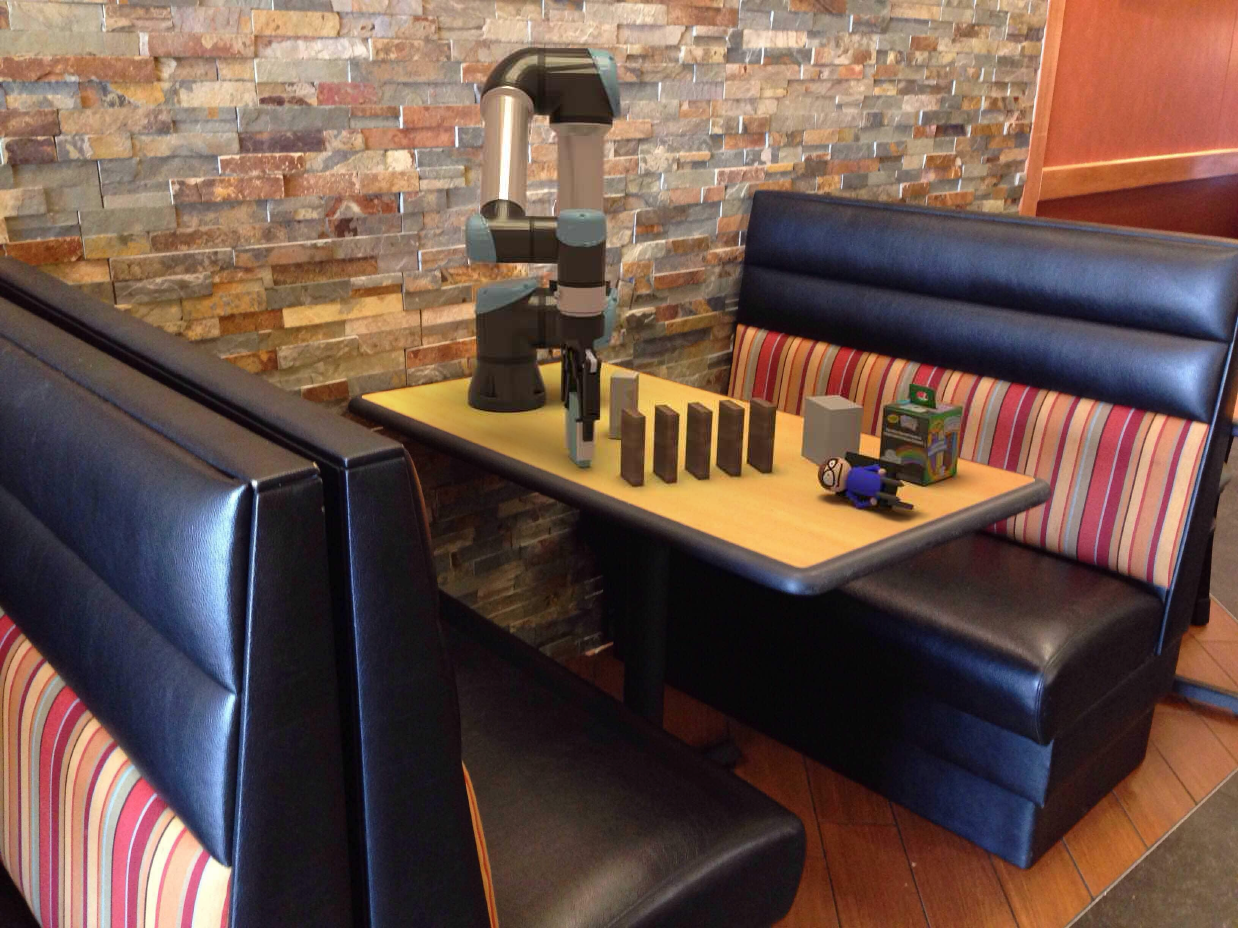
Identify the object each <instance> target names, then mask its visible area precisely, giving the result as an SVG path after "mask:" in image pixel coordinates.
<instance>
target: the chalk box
mask: <svg viewBox="0 0 1238 928" xmlns="http://www.w3.org/2000/svg"><path fill="white" fill-rule="evenodd" d="M908 392H909V398H901V399H898V400H895V401H894V402H891V403H886V404H884V405H883V406H882V420H881V430H880V432H881V433H880V441H879V454H878V459H881V460H885V461H889V462H894V463H897V464H901V465H904V468H903V472H902V474H905V475H909V476H912V477H916V478H920V480H919V483H915V482H911V481H907V480H904V479H902V480H903V481H906V482H908V483H913V484H915V485H918V486H920V487H925V486H928V485H930V484H934V483H936V482H938V481H941V480H945V479H947V478H949V477H952V476H954V475H957V470H958V460H959V451H960V440H961V438H960V437H961V429H962V428H961V427H962V420H963V411H964V409H963V408H964V407H963V406H962V405H958V404H954V403H950V402H947V401H945V402H944V401H942V400H940V401H939V400H936V391H935V388H933V387H929V386H927V385H926V386H925V385H921V384H916V383H912V382H911V383H909V384H908ZM919 392H922V393H924V394H925V395H926V396H927V398H926V397H922V396H918V393H919Z"/></svg>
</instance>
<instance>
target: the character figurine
mask: <svg viewBox="0 0 1238 928" xmlns="http://www.w3.org/2000/svg"><path fill="white" fill-rule="evenodd" d="M903 468H904V465H901V464H897V463H894V462H889V461H885V460H881V459H879V458H877V457H873V456H867V455H866V454H860V453H859V454H856V453H852V452H848V451H846V455H845V459H842V458H838V457H833V458H829V459H827V460H825V461H824V462H823V463H822V464H821V466H819V469H818V471H817V479H818V482H819V484H820V486H821V487H822V488H823V489H824V490H826V491H828V492H830V493H834V495H836V496H839V497H840V496H841V497H843V498H846V499H847V498H848V499H851V501H852V502H853V503H854V505H855V506H856V508H857V509H861V508H865V507H867V506H871V505H872V506H876V507H879V508H882V509H887V510H893V508H894V507H897V508H901V509H904V510H909V511H913V510H914V506H915V505H914V504H913V503H912V504H911V503H908V502H905V501H902V500H901V498H900V497H899V496H897V493H898V490H899V488H903V487H906V485H905V484H904V483H903V482H902V481H901V480H903V479H904V480H903V481H906V480H907V481H906V482H909V481H911V482H910V483H912V482H915V483H919V480H920V478H916V477H912V476H909V475H905V474H902V472H903ZM915 483H914V484H915Z"/></svg>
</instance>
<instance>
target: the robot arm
mask: <svg viewBox="0 0 1238 928" xmlns="http://www.w3.org/2000/svg"><path fill="white" fill-rule="evenodd" d="M479 99H480V100H479V101H480V102H479V112H480V116H481V118H482V119H483V121H484V129H483V130H484V131H483V132H484V134H483V150H482V166H481V167H482V168H481V182H480V183H481V185H480V202H479V213H477V214H470V215H468V216H467V217H466V219H465V224H464V226H465V228H464V229H465V231H464V232H465V233H464V241H465V242H464V243H465V244H464V245H465V254H466V258H467V259H468V260H469V261H471V262H474V263H483V264H484V263H485V264H492V265H495V264H538V265H539V264H541V265H542V264H543V265H546V264H548V265H549V264H550V265H556V270H554V272H553V273H552V274H550V275H549V277H548V287H539V284H538V282H537V280H536V279H534V278H530V277H529V278H522V277H521V278H510V279H502V280H498V281H493V282H489V283H487V284H484V285H481V286H480V287H479V288H478V289H477V291H476V292H475V293H476V294H475V308H474V310H473V311H474V315H475V351H476V352H475V353H476V355H475V356H476V357H475V358H476V360H475V367H474V370H473V373H472V376H471V380H470V383H469V386H468V389H467V403H468V404H469V405H470V406H472V407H474V408H476V409H480V410H484V411H491V412H522V411H530V410H534V409H538V408H541V407H543V406H545V405H546V403H547V388H546V385H545V381H544V379H543V375H542V373H541V370H540V367H539V364H538V350H560V355H561V360H560V361H561V368H560V371H561V372H560V402H561V403H563V407H564V409H565V411H564V415H565V417H564V421H565V422H564V425H565V426H564V427H565V428H564V430H565V431H564V448H565V449H566V450H569V392H577V393H578V406H579V418H578V419H575V422H576V423H577V460H578V461H582V460H590V461H592V460H595V438H596V437H595V436H596V435H595V431H596V430H595V428H596V427H595V426H596V422H597V421H600V420H601V371H602V359H601V358H597V351H596V350H603V349H606V348H608V347H609V345H610V344H611V343H612V340H613V339H612V338H613V335H614V329H615V323H616V316H617V310H618V298H619V290H618V288H616V287H613V286H612V287H611V277H610V276H609V275H608V274H607V273H606V261H607V238H608V231H607V230H608V228H607V216H606V215H605V213H604V193H605V190H604V189H605V188H604V187H605V185H604V183H605V181H604V179H605V137H606V135H607V134H608V133H609V132H610V131H611V130H612V129H613V127H614V126H613V125H614V123H613V121H614V119H617V118H619V117H621V113H622V107H621V105H622V104H621V93H620V81H619V74H618V68H617V61H616V58H615V56H614V54H613V53H612V52H611V51H609V50H606V49H600V48H590V47H539V46H530V47H523V48H521V49H519V50H516V51H514V52H512V53H510V54H509V55H507V56H506V57H504V58H503V59H502V60H501V61H499V63H497V65H496V66H495V67H494V68H493V69H492V70H491V72H490V73H489V75H488V76H487V78H486V80H485V82H484V84H483V87H482V88H481V92H480V98H479ZM535 116H540V117H541V116H543V117H544V116H545V117H548V121H549V122H548V123H549V124H548V126H549V128H550V129H551V130H552V131H553V133H554V134H555V135H556V137H557V138H556V140H557V149H556V150H557V159H556V160H557V163H556V164H557V165H556V167H557V169H556V171H557V172H556V173H557V174H556V176H557V179H556V180H557V183H556V184H557V185H556V189H557V190H556V193H557V195H556V197H557V198H556V200H557V203H556V211H557V212H556V214H557V215H556V216H555V215H554V216H553V215H552V216H551V215H550V216H549V215H548V216H547V215H546V216H542V215H540V216H539V215H538V216H537V215H527V214H526V213H527V188H528V187H527V181H528V180H527V179H528V152H529V151H528V150H529V146H528V144H529V143H528V142H529V125H530V123H531V122H532V121H533V118H534V117H535Z"/></svg>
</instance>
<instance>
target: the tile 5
mask: <svg viewBox="0 0 1238 928" xmlns="http://www.w3.org/2000/svg"><path fill="white" fill-rule="evenodd" d="M748 415H749V416H748V417H749V418H748V432H747V434H748V435H747V448H746V450H747V451H746V464H747V465H748V466H750V467H752V469H755V470H756V471H758V472H759V473H761V474H764V475H765V474H771V473H773V466H774V453H775V450H774V449H775V438H776V436H775V434H776V422H777V421H776V420H777V405H775V404H774V403H772V402H770V401H768V400H766V399H764V397H763V398H762V397H761V396H760V397H750V400H749V414H748Z"/></svg>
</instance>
